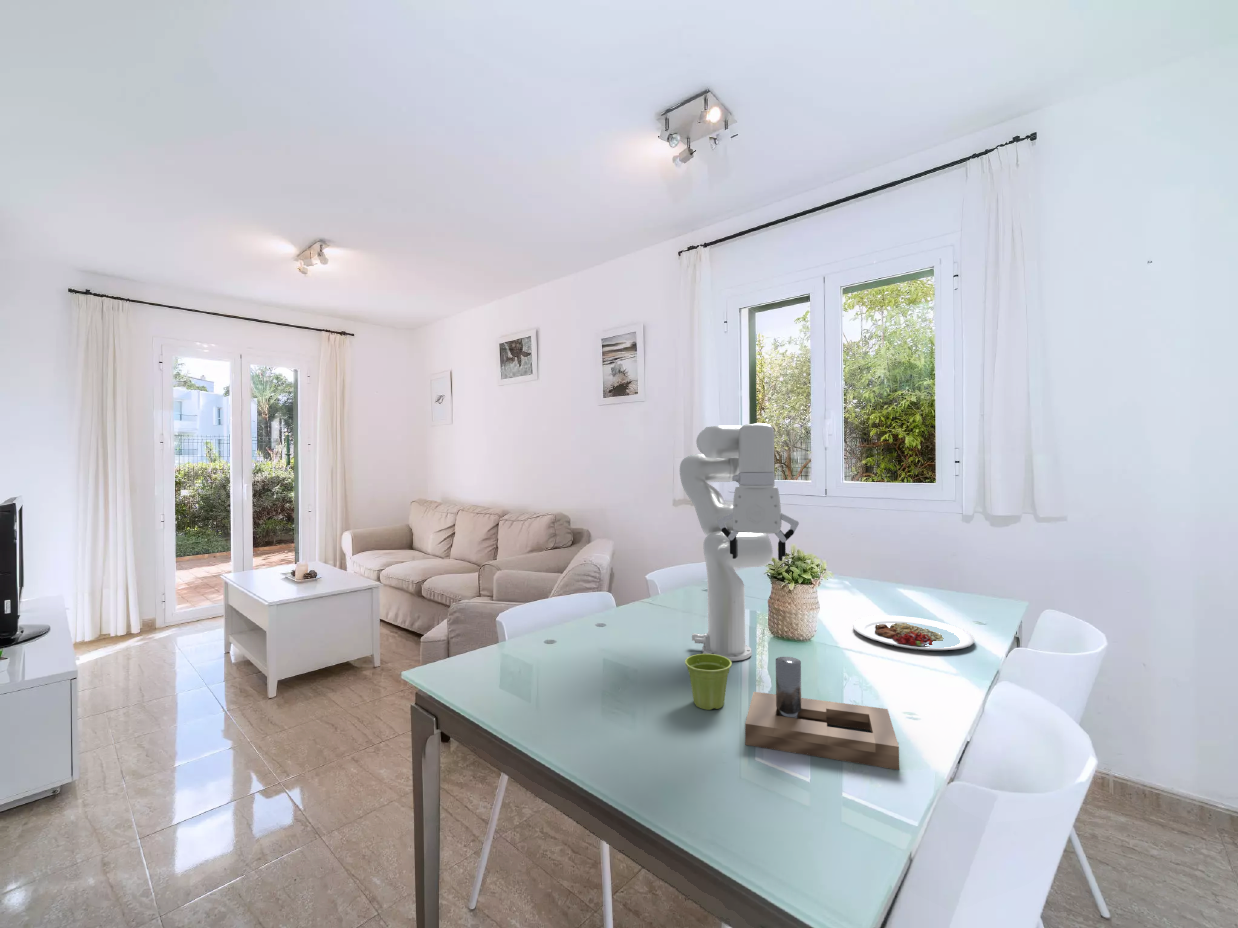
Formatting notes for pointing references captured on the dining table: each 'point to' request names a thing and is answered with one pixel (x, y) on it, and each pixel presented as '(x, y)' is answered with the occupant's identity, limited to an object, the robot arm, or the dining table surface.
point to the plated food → (909, 632)
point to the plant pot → (708, 679)
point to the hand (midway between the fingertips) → (757, 558)
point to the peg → (788, 686)
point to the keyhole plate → (824, 731)
